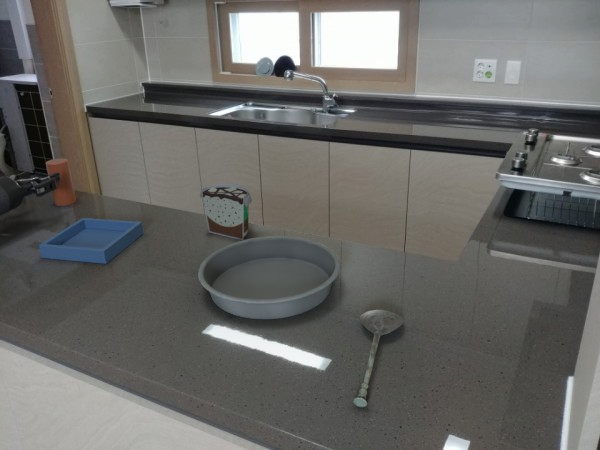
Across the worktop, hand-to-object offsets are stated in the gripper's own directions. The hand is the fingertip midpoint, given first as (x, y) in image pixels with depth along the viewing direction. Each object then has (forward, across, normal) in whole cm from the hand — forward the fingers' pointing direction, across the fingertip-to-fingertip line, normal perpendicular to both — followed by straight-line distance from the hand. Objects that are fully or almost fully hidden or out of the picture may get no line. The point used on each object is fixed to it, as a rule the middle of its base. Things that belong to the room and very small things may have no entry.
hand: (43, 175), depth 130 cm
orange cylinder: (+6, 0, +9) cm, 11 cm away
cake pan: (-26, -65, +9) cm, 71 cm away
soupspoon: (-42, -85, +9) cm, 95 cm away
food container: (-4, -50, +9) cm, 51 cm away
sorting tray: (-16, -23, +9) cm, 30 cm away
